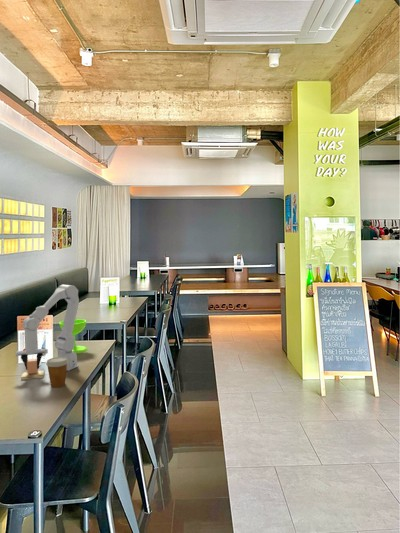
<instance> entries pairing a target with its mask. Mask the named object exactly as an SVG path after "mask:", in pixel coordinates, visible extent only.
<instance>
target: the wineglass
mask: <svg viewBox="0 0 400 533" xmlns="http://www.w3.org/2000/svg"><path fill="white" fill-rule="evenodd" d="M63 323H64V320H61V321H59V322H58V324H59V328H60V330H61V331H62V328H63ZM86 326H87V319H83V318H82V319H81V318H77V319H76V318H75V323H74V327H73V332H72V335H73V337H74V348H73V350H72V351H73V352H75V353H76V354H82V353H85V352H87V351H88V348H87V347H86V346H85V345H84V346H83V345H76V335H78V334H80V333H81V332H83V330H85V327H86Z"/></svg>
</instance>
